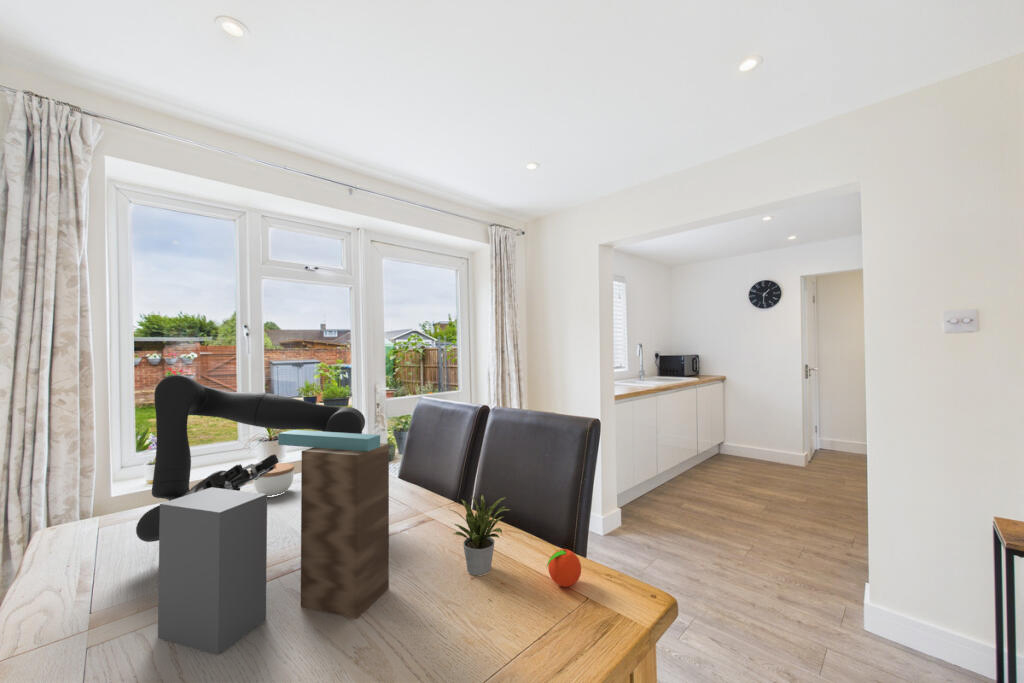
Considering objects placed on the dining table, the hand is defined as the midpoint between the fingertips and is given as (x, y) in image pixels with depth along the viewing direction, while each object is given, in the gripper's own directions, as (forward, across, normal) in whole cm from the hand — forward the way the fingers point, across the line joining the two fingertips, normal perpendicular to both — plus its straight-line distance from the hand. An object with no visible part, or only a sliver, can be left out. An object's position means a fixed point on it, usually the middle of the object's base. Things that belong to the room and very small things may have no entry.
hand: (259, 463), depth 89 cm
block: (+18, 0, +5) cm, 19 cm away
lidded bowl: (-50, +43, +1) cm, 66 cm away
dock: (-7, -14, +25) cm, 30 cm away
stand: (+7, 0, +33) cm, 34 cm away
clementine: (+43, +16, +54) cm, 71 cm away
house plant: (+27, +18, +45) cm, 55 cm away
